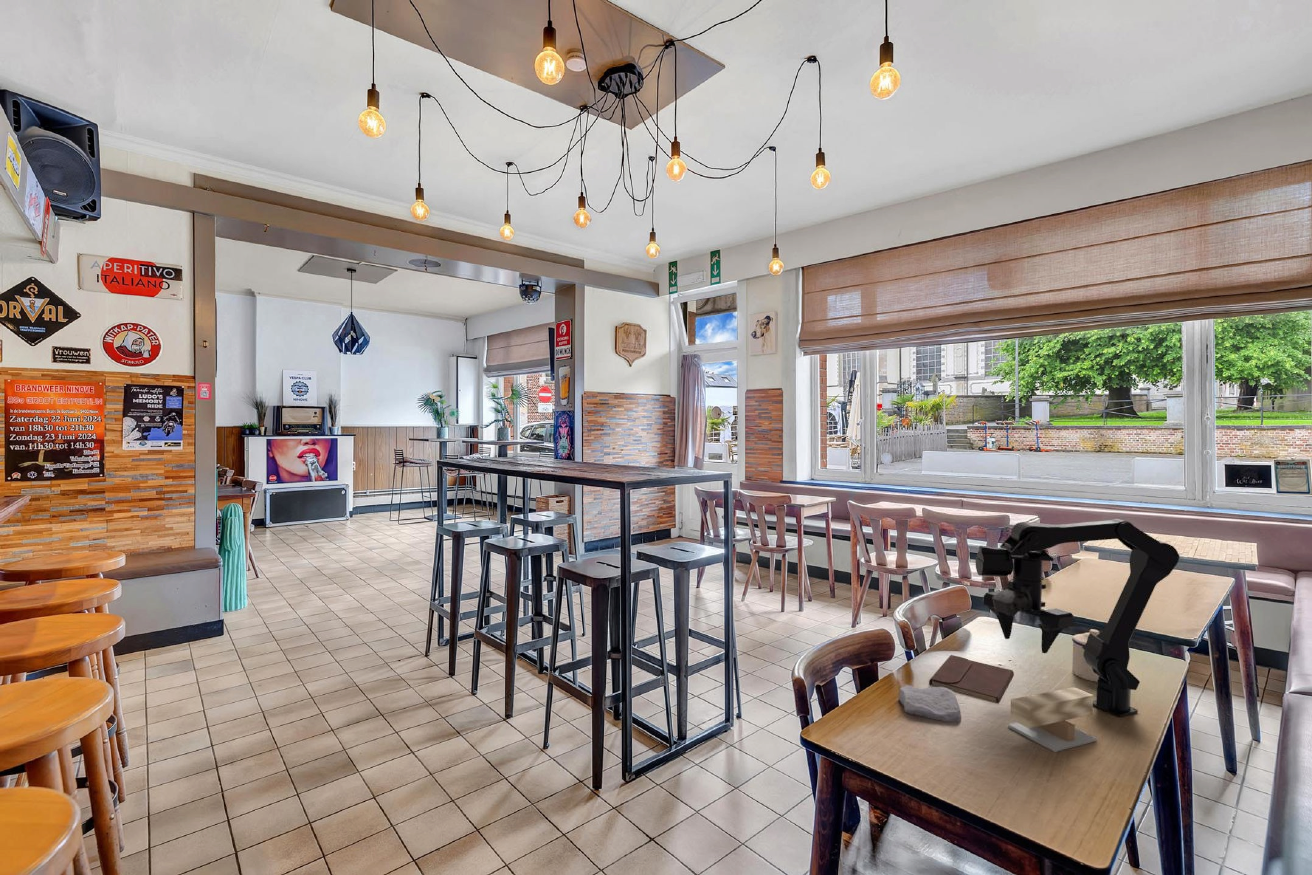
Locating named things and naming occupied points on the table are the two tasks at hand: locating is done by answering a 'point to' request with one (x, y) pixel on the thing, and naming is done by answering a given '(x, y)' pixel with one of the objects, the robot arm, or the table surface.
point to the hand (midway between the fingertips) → (1025, 645)
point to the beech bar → (1051, 707)
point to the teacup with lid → (1082, 657)
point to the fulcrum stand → (1055, 735)
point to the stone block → (930, 702)
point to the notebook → (972, 678)
